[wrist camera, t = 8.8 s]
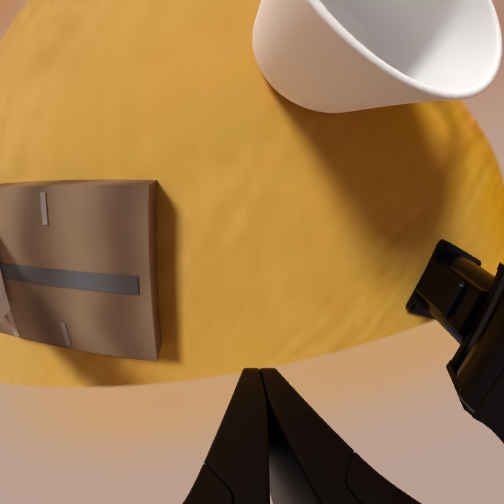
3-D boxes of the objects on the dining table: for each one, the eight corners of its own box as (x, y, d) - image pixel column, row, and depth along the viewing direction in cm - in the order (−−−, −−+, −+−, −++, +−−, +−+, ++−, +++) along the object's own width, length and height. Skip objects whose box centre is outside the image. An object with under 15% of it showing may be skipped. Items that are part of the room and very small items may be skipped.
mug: (430, 104, 16) (552, 105, 6) (270, 126, 16) (337, 109, 6) (398, -2, 13) (495, -52, 3) (234, 4, 13) (249, -110, 3)
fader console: (156, 180, 17) (148, 185, 15) (161, 343, 21) (157, 362, 19) (-20, 185, 15) (-37, 191, 13) (5, 319, 19) (-6, 331, 17)
